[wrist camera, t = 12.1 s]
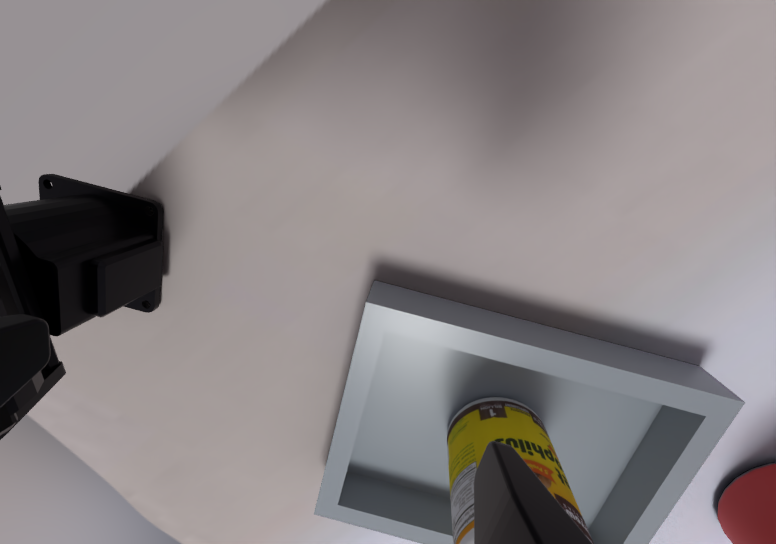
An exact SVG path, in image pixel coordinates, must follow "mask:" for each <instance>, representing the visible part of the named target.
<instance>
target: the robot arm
mask: <svg viewBox="0 0 776 544" xmlns="http://www.w3.org/2000/svg"><path fill="white" fill-rule="evenodd" d="M50 182H51V183H52V185H53V186H51V183H50ZM0 190H1V187H0ZM39 193H40V200H37V201H29V202H23V203H16V204H8V205H3V202H2V199H1V197H0V440H1V439H2V438H3V437H4V436H5V435H6V434H7V433H8V432H9V431H10V430H11V429H12V428H13V427H14V426H15V425H16V424H17V423H18V422H19V421H20V420H21V419H22V418H23V417H24V416H25V415H26V414H27V413H28V412H29V411H30V410H31V409H32V408H33V407H34V406H35V405H36V403H37V402H38V401H39V400H40V399H41V398H42V397H43V396H44V395H45V394H46V393H47V392H48V391H49V390H50V389H51V388H52V387H53V386H54V385H55V384H56V383H57V382H58V381H59V380H60V379H61V378H62V377H63V376H64V375H65V374H66V371H65V369H64V366H63V363H62V362H60V361H59V360H58V357H57V354H56V352H55V349H54V346H53V343H52V340H51V338H50V335H53V336H59V335H61V334H63V333H65V332H67V331H69V330H71V329H73V328H75V327H77V326H79V325H81V324H82V323H84V322H86V321H88V320H90V319H92V318H94V317H96V316H98V317H104V316H106V315H107V314H109V313H111V312H113V311H115V310H117V309H119V308H121V307H123V306H124V307H128V308H132V309H135V310H139V311H143V312H148V313H149V312H152V311H154V310H155V309H157V308H158V307H159V297H160V286H161V280H162V257H163V245H162V228H163V208H162V206H161V205H160V204H159V203H158V202H156V201H154V200H150V199H146V198H143V197H139V196H135V195H131V194H127V193H124V192H120V191H116V190H112V189H108V188H105V187H101V186H97V185H93V184H89V183H85V182H82V181H78V180H74V179H70V178H66V177H63V176H59V175H55V174H46V175H42V176H41V177H40V178H39ZM150 207H151V208H152V209H153V211H154V213H153V214H152V213H151V212H150V209H149V208H150ZM147 301H148V302H149V303H150V305H148V303H147ZM474 544H592V542H591V541H590V540H589V539H588V538H587V536H586V535H585V534H584V533H583V531H582V530H581V529H580V528H579V527H578V525H577V524H576V523H575V522H574V521H573V519H572V518H571V517H570V516H569V515H568V513H567V512H566V511H565V510H564V508H563V507H562V506H561V505H560V504H559V502H558V501H557V500H556V499H555V498H554V496H553V495H552V494H551V493H550V491H549V490H548V489H547V488H546V487H545V485H544V484H543V483H542V482H541V481H540V479H539V478H538V477H537V476H536V475H535V473H534V472H533V471H532V470H531V468H530V467H529V466H528V465H527V464H526V462H525V461H524V460H523V459H522V458H521V456H520V455H519V454H518V453H517V452H516V450H515V449H514V448H513V447H512V446H510V445H507V444H504V443H500V442H496V441H491V442H489V444H488V445H487V447H486V449H485V451H484V454H483V456H482V458H481V461H480V463H479V466H478V468H477V470H476V474H475V478H474Z"/></svg>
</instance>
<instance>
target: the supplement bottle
mask: <svg viewBox="0 0 776 544" xmlns="http://www.w3.org/2000/svg"><path fill="white" fill-rule="evenodd" d="M491 441H496V442H500V443H504V444H507V445H510V446H512V447H513V448H514V449H515V450H516V452H517V453H518V454H519V455H520V456H521V458H522V459H523V460H524V461H525V462H526V464H527V465H528V466H529V467H530V468H531V470H532V471H533V472H534V473H535V475H536V476H537V477H538V478H539V479H540V481H541V482H542V483H543V484H544V485H545V487H546V488H547V489H548V490H549V491H550V493H551V494H552V495H553V496H554V498H555V499H556V500H557V501H558V502H559V504H560V505H561V506H562V507H563V508H564V510H565V511H566V512H567V513H568V515H569V516H570V517H571V518H572V519H573V521H574V522H575V523H576V524H577V525H578V527H579V528H580V529H581V530H582V531H583V533H584V534H585V535H586V536H587V538H588V539H589V540H590V541H591V542H592V544H594V543H593V540H592V538H591V536H590V534H589V531H588V529H587V526H586V524H585V521H584V519H583V517H582V515H581V512H580V510H579V507H578V505H577V503H576V500H575V498H574V495H573V493H572V491H571V488H570V486H569V483H568V481H567V478H566V476H565V474H564V471H563V469H562V466H561V464H560V462H559V459H558V457H557V455H556V452H555V450H554V447H553V445H552V443H551V440H550V438H549V436H548V433H547V431H546V429H545V426H544V425H543V423H542V421H541V419H540V418H539V417H538V415H537V414H536V413H535V412H534V411H533V410H531V409H530V408H529V407H527V406H526V405H524V404H522V403H520V402H518V401H515V400H512V399H508V398H503V397H489V398H483V399H479V400H476V401H473V402H471V403H469V404H468V405H466V406H464V407H463V408H462V409H461V410H460V411H459V412H458V413H457V414H456V415H455V416H454V418H453V419H452V421H451V423H450V425H449V428H448V433H447V450H448V467H449V484H450V499H451V515H452V530H453V544H474V478H475V474H476V470H477V468H478V466H479V463H480V461H481V458H482V456H483V454H484V451H485V449H486V447H487V445H488V444H489V442H491Z"/></svg>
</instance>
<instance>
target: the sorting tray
mask: <svg viewBox="0 0 776 544" xmlns="http://www.w3.org/2000/svg"><path fill="white" fill-rule="evenodd" d="M489 397H503V398H508V399H512V400H515V401H518V402H520V403H522V404H524V405H526V406H527V407H529V408H530V409H531V410H533V411H534V412H535V413H536V414H537V415H538V417H539V418H540V419H541V421H542V423H543V425H544V426H545V429H546V431H547V433H548V436H549V438H550V440H551V443H552V445H553V447H554V450H555V452H556V455H557V457H558V459H559V462H560V464H561V466H562V469H563V471H564V474H565V476H566V478H567V481H568V483H569V486H570V488H571V491H572V493H573V495H574V498H575V500H576V503H577V505H578V507H579V510H580V512H581V515H582V517H583V519H584V521H585V524H586V526H587V529H588V531H589V534H590V536H591V538H592V540H593V543H594V544H649V542H650V541H651V539H652V538H653V536H654V535H655V533H656V532H657V531H658V529H659V528H660V526H661V525H662V523H663V522H664V520H665V519H666V517H667V516H668V515H669V513H670V512H671V510H672V509H673V507H674V506H675V504H676V503H677V501H678V500H679V498H680V497H681V496H682V494H683V493H684V491H685V490H686V488H687V487H688V485H689V484H690V482H691V481H692V479H693V478H694V477H695V475H696V474H697V472H698V471H699V469H700V468H701V466H702V465H703V463H704V462H705V461H706V459H707V458H708V456H709V455H710V453H711V452H712V450H713V449H714V447H715V446H716V444H717V443H718V442H719V440H720V439H721V437H722V436H723V434H724V433H725V431H726V430H727V428H728V427H729V425H730V424H731V423H732V421H733V420H734V418H735V417H736V415H737V414H738V412H739V411H740V409H741V408H742V407H743V405H744V404H745V402H744V401H743V400H742V399H740V398H739V397H738V396H737V395H735V394H734V393H733V392H732V391H730V390H729V389H728V388H727V387H725V386H724V385H723V384H722V383H720V382H719V381H718V380H717V379H715V378H714V377H713V376H712V375H710V374H709V373H708V372H707V371H705V370H704V369H703V368H702V367H700V366H697V365H693V364H689V363H686V362H682V361H678V360H674V359H670V358H667V357H663V356H659V355H655V354H651V353H648V352H644V351H640V350H636V349H633V348H629V347H625V346H621V345H617V344H614V343H610V342H606V341H602V340H598V339H595V338H591V337H587V336H583V335H580V334H576V333H572V332H568V331H564V330H561V329H557V328H553V327H549V326H546V325H542V324H538V323H534V322H530V321H527V320H523V319H519V318H515V317H511V316H508V315H504V314H500V313H496V312H493V311H489V310H485V309H481V308H477V307H474V306H470V305H466V304H462V303H458V302H455V301H451V300H447V299H443V298H440V297H436V296H432V295H428V294H424V293H421V292H417V291H413V290H409V289H405V288H402V287H398V286H394V285H390V284H387V283H383V282H379V281H375V280H374V283H373V285H372V288H371V290H370V293H369V296H368V298H367V301H366V304H365V309H364V313H363V317H362V321H361V325H360V329H359V333H358V337H357V341H356V345H355V349H354V353H353V357H352V361H351V365H350V370H349V374H348V378H347V382H346V386H345V390H344V394H343V398H342V402H341V406H340V410H339V414H338V418H337V422H336V426H335V431H334V435H333V439H332V443H331V447H330V451H329V455H328V459H327V463H326V467H325V471H324V475H323V479H322V483H321V487H320V492H319V496H318V500H317V504H316V508H315V512H314V514H315V515H319V516H322V517H326V518H330V519H333V520H337V521H341V522H344V523H348V524H352V525H356V526H359V527H363V528H367V529H370V530H374V531H378V532H381V533H385V534H389V535H392V536H396V537H400V538H403V539H407V540H411V541H414V542H418V543H422V544H453V530H452V515H451V499H450V484H449V467H448V450H447V433H448V428H449V425H450V423H451V421H452V419H453V418H454V416H455V415H456V414H457V413H458V412H459V411H460V410H461V409H462V408H463V407H464V406H466V405H468V404H469V403H471V402H473V401H476V400H479V399H483V398H489Z"/></svg>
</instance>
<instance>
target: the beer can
mask: <svg viewBox="0 0 776 544" xmlns="http://www.w3.org/2000/svg"><path fill="white" fill-rule="evenodd" d="M718 520H719V522H720V524H721V527H722V529H723V531H724V533H725V534H726V535H727V537H728V538H729V539H730V540H731V542H732V543H733V544H776V463H770V464H766V465H763V466H760V467H756V468H753V469H750V470H749V471H747V472H745V473H743V474H742V475H740V476H738V477H736V478H735V479H734V480H733V481H732V482H731V483H730V484H729V485H728V486H727V487H726V488H725V490H724V492H723V493H722V495H721V497H720V499H719V502H718Z"/></svg>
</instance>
